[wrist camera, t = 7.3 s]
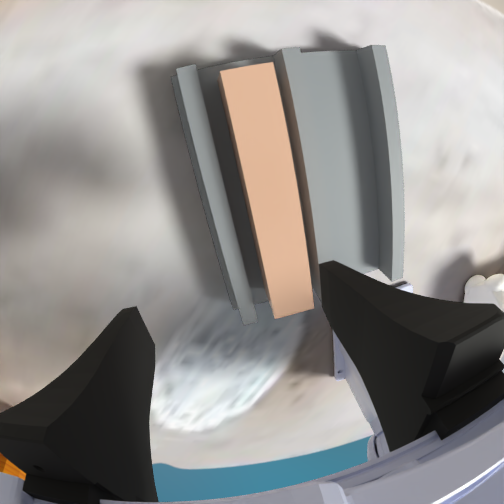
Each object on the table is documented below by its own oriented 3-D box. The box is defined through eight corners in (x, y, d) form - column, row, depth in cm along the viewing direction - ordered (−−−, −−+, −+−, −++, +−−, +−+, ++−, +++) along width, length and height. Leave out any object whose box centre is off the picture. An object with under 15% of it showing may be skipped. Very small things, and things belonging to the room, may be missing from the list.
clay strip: (298, 279, 21) (314, 308, 18) (264, 289, 21) (275, 319, 18) (259, 72, 15) (272, 62, 12) (217, 80, 15) (220, 71, 12)
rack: (388, 258, 23) (407, 275, 20) (232, 302, 23) (236, 327, 20) (368, 52, 16) (392, 45, 13) (172, 78, 16) (166, 71, 13)
